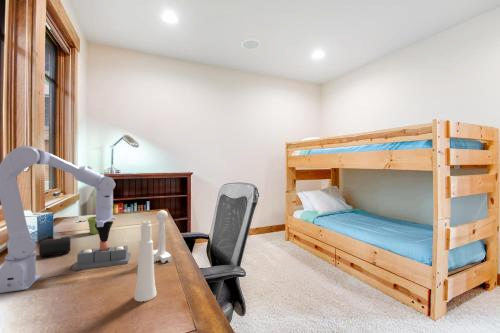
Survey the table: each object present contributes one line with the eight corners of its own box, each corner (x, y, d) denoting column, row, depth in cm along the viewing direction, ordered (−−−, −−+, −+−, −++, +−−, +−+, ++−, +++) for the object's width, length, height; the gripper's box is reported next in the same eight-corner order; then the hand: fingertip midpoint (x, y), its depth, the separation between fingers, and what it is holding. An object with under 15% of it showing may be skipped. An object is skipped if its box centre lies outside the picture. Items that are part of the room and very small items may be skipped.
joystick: (173, 260, 96) (174, 211, 96) (155, 266, 90) (156, 213, 90) (159, 253, 103) (160, 207, 103) (142, 258, 98) (143, 210, 98)
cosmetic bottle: (160, 295, 70) (161, 221, 70) (139, 304, 65) (140, 224, 65) (150, 288, 74) (151, 218, 74) (130, 296, 69) (131, 221, 69)
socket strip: (127, 263, 92) (127, 251, 92) (72, 270, 86) (72, 256, 86) (130, 255, 101) (130, 243, 101) (80, 260, 95) (80, 248, 95)
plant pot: (88, 231, 136) (88, 216, 136) (107, 230, 140) (107, 215, 140) (84, 236, 128) (85, 219, 128) (105, 234, 132) (105, 218, 132)
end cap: (39, 259, 95) (39, 243, 95) (41, 254, 101) (41, 238, 101) (70, 254, 101) (70, 238, 101) (70, 249, 107) (70, 234, 107)
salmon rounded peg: (107, 253, 93) (107, 242, 93) (98, 254, 92) (99, 242, 92) (108, 251, 95) (108, 240, 95) (100, 252, 94) (100, 240, 94)
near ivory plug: (90, 263, 91) (90, 251, 91) (81, 264, 90) (82, 252, 90) (92, 260, 94) (92, 249, 94) (84, 261, 93) (84, 249, 93)
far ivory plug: (122, 259, 95) (122, 248, 95) (114, 260, 94) (115, 249, 94) (123, 257, 97) (124, 246, 97) (116, 258, 96) (116, 246, 96)
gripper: (112, 209, 88) (112, 245, 88) (119, 203, 102) (118, 235, 102) (90, 210, 86) (89, 247, 86) (100, 204, 99) (99, 236, 99)
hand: (104, 241), depth 94 cm, fingers closed
